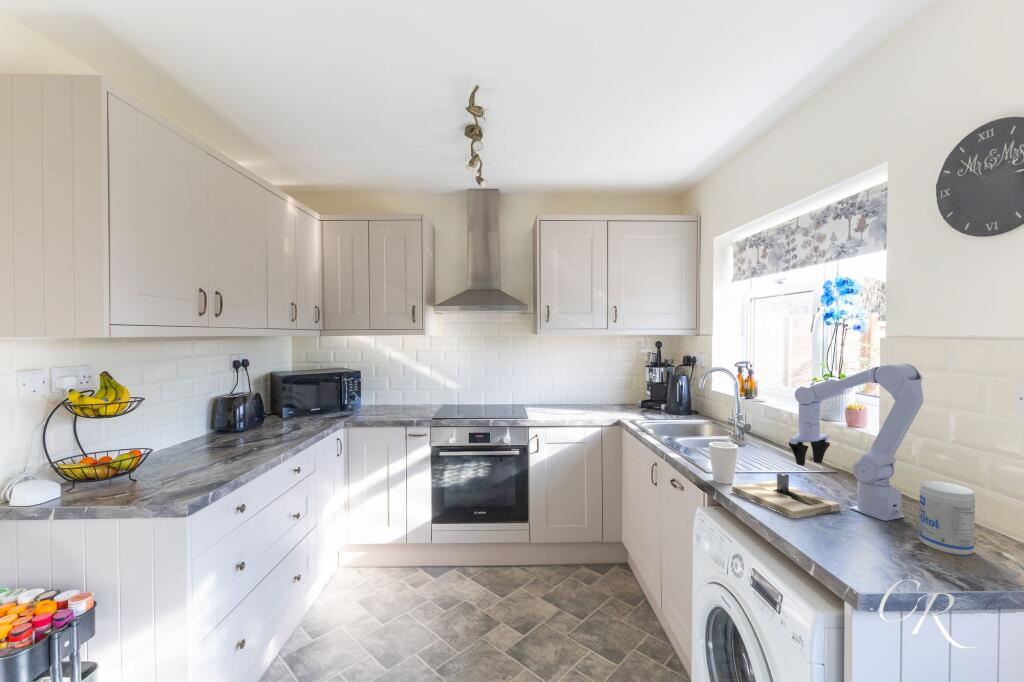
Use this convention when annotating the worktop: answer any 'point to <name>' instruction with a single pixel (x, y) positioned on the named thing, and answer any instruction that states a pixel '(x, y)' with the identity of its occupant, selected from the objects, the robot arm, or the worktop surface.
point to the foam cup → (723, 461)
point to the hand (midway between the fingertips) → (809, 463)
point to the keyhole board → (786, 499)
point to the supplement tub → (947, 517)
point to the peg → (783, 484)
